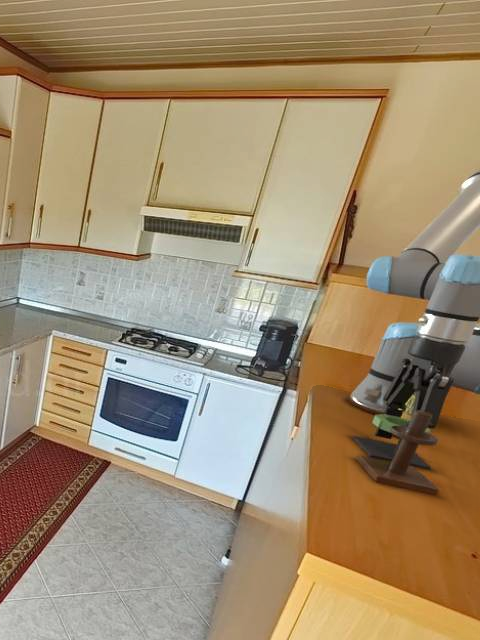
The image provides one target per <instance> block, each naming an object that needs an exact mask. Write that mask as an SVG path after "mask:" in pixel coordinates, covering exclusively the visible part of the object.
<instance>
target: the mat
mask: <svg viewBox="0 0 480 640" xmlns="http://www.w3.org/2000/svg"><path fill="white" fill-rule="evenodd" d="M352 439H353V440H354V441H355V442H356V443H357V444H358V445H359V447H360V448H362V450H364V452H366V454H367V455H368V457H371V458H376V459H380V460H385V461H390V462H392V460H393V458H394V455H395V454H394V453H393V452H394V450H395V447H396V445H397V443H392V442H387V441H383V440H382V441H381V440H376V439H372V438H368V437H364V436H363V437H362V436H357V435H352ZM409 466H413V467H415V468H421V469H425V470H430V471H431V470H432V466H430V465H429V464H428V463H427V462H426V461H425V460H423V458H422V457H420V456H419V455H418V454H417V453H415V454H414V456H413V458H412V460H411V462H410V464H409Z"/></svg>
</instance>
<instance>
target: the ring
mask: <svg viewBox="0 0 480 640" xmlns="http://www.w3.org/2000/svg"><path fill="white" fill-rule="evenodd" d="M406 421H410V420H408V419H405V418H403V419H402V418H401V417H397V416H391V415H386V414H385V415H384V414H380V415H376V414H374V416H373V419H372V422H371V423H372V424H373V425H374V426H376V427H377V428H380V429H382V430H385V431H388V432H390V430H391V427H392V426H406ZM425 432H426V433H428V434H431V428H430V429H428V428H426V431H425ZM390 433H391V432H390Z"/></svg>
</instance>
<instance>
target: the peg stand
mask: <svg viewBox="0 0 480 640" xmlns="http://www.w3.org/2000/svg"><path fill="white" fill-rule="evenodd" d="M432 416H433V415H432V414H430V413H428V412H425V411H420V410H415V412H414V414H413V416H412V418H411V420H410V423H409V425H408V427H405V426H392V427H391V430H390V432H391V433H392V434H394V435H393V436H395V437H397V438H399V437H400V438H402V440H401V442H400V444H399V447H398V449H397V451H396V453H395V455H394V458H393V460H392V461H387V460H383V459H378V458H373V457H370V456H366V455H361V454H358V456H357V459H356V461H357V462H358V463H359V465H360V466H361V467H362V468H363V469H364V470H365V472H367V474H368V475H369V476H370V477H371V478H372V480H373V481H374V482H375V483H379V484H383V485H388V486H393V487H398V488H401V489H406V490H410V491H415V492H418V493H423V494H428V495H434V496H437V494H438V492H439V491H440V489H439V488H437V486H436V485H434V483H432V481H430V480H429V479H428V478H427V477H426V476H425V475H424V474H423V473H421V472H420V470H418V469H417V467H415V466H411V465H409V464H410V462H411V460H412V458H413V456H414V454H416V452H417V450H418V448H419V445H423V446H436V445H437V443H438V440H439V439H438V438H437V437H436V436H434V435H433V434H431V433H430V434H428V433H426V432H425V431H426V428H427V426H428V424H429V422H430V420H431V418H432ZM400 438H399V439H400Z"/></svg>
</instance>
